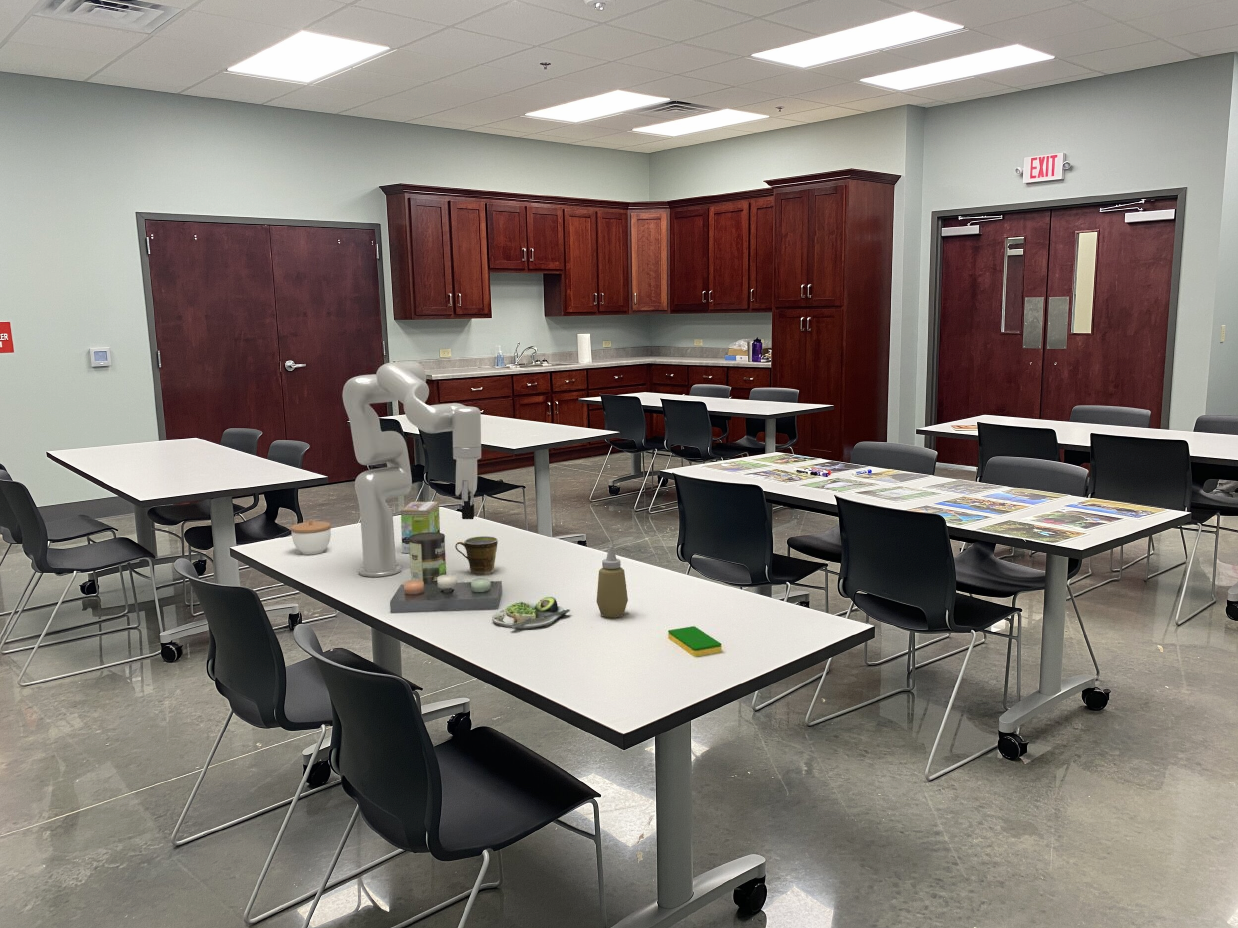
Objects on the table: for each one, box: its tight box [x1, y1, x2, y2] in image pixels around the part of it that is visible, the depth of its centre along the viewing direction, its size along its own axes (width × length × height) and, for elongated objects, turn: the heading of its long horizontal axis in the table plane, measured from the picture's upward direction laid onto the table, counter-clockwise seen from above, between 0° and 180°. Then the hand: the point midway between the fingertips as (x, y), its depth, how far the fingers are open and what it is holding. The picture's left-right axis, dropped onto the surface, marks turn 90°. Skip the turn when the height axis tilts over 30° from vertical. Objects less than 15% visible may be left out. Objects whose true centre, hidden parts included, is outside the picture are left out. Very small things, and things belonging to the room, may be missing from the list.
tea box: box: [400, 501, 441, 554], centre depth 311 cm, size 15×10×15 cm
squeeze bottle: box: [596, 545, 629, 619], centre depth 237 cm, size 8×8×18 cm
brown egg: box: [403, 580, 424, 594], centre depth 251 cm, size 5×5×5 cm
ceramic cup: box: [455, 535, 499, 576], centre depth 280 cm, size 13×10×10 cm
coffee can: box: [409, 532, 447, 584], centre depth 269 cm, size 10×10×14 cm
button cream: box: [437, 574, 458, 593], centre depth 251 cm, size 5×5×5 cm
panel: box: [389, 580, 503, 614], centre depth 252 cm, size 16×28×3 cm, turn 93°
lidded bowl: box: [290, 519, 332, 556], centre depth 309 cm, size 13×13×11 cm
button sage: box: [470, 577, 491, 592], centre depth 252 cm, size 5×5×5 cm
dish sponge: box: [667, 625, 723, 658], centre depth 215 cm, size 7×14×2 cm, turn 23°
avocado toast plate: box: [491, 596, 571, 630], centre depth 235 cm, size 19×18×5 cm
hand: (468, 518), depth 254 cm, fingers closed
